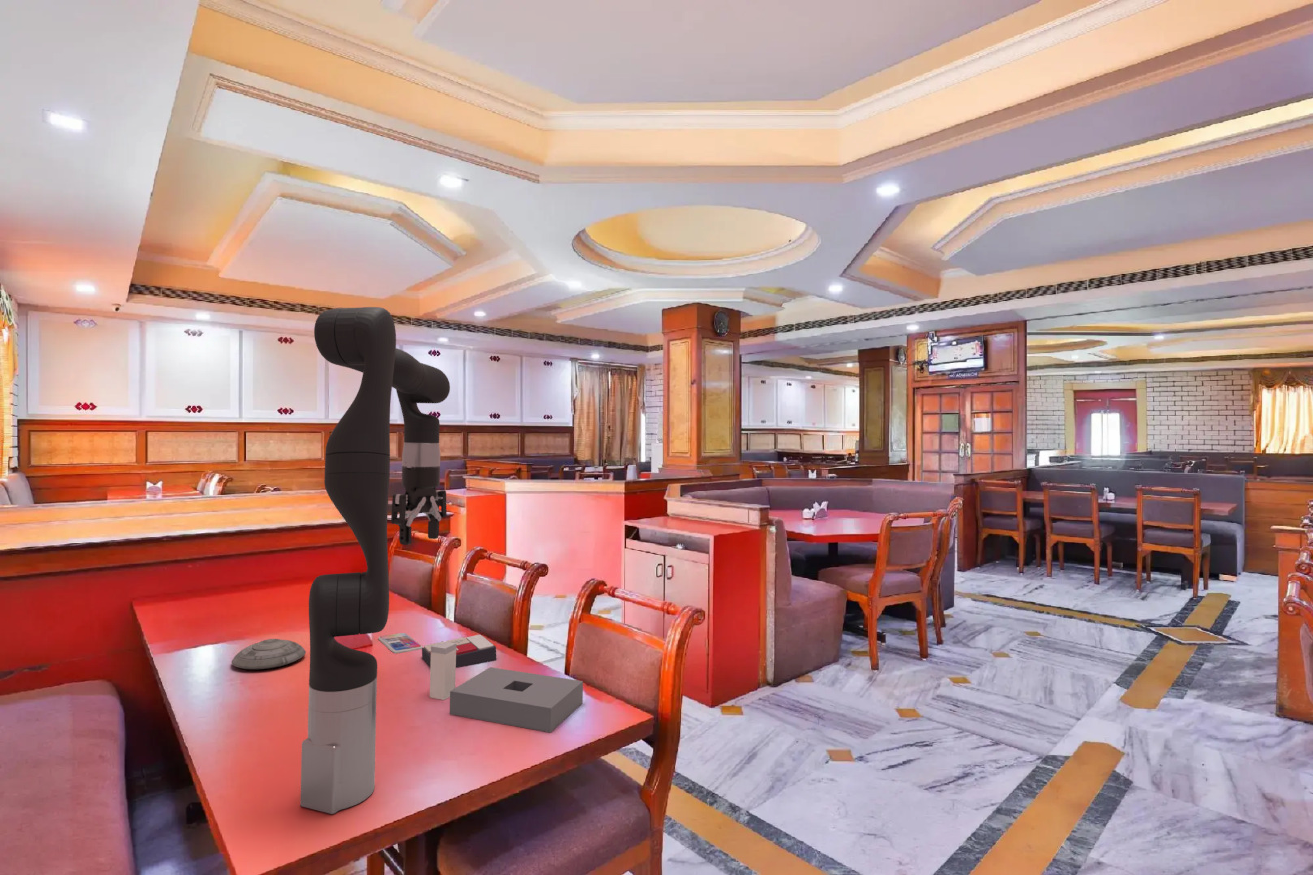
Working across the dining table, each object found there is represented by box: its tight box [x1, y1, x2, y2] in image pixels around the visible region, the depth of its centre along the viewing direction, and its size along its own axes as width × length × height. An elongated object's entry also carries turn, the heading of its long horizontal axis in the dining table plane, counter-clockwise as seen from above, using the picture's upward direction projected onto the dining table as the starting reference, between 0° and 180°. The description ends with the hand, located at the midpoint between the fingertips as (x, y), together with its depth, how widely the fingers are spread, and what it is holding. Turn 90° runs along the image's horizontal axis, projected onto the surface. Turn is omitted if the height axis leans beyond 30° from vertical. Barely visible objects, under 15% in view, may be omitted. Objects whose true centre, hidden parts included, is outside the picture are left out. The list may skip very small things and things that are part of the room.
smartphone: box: [378, 632, 424, 655], centre depth 164 cm, size 7×1×15 cm
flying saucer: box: [231, 638, 307, 670], centre depth 149 cm, size 15×15×6 cm
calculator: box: [421, 634, 497, 669], centre depth 154 cm, size 11×4×15 cm
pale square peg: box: [429, 640, 457, 701], centre depth 132 cm, size 4×4×11 cm
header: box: [449, 666, 584, 733], centre depth 126 cm, size 14×22×4 cm, turn 72°
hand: (419, 541), depth 133 cm, fingers open, 8 cm apart
